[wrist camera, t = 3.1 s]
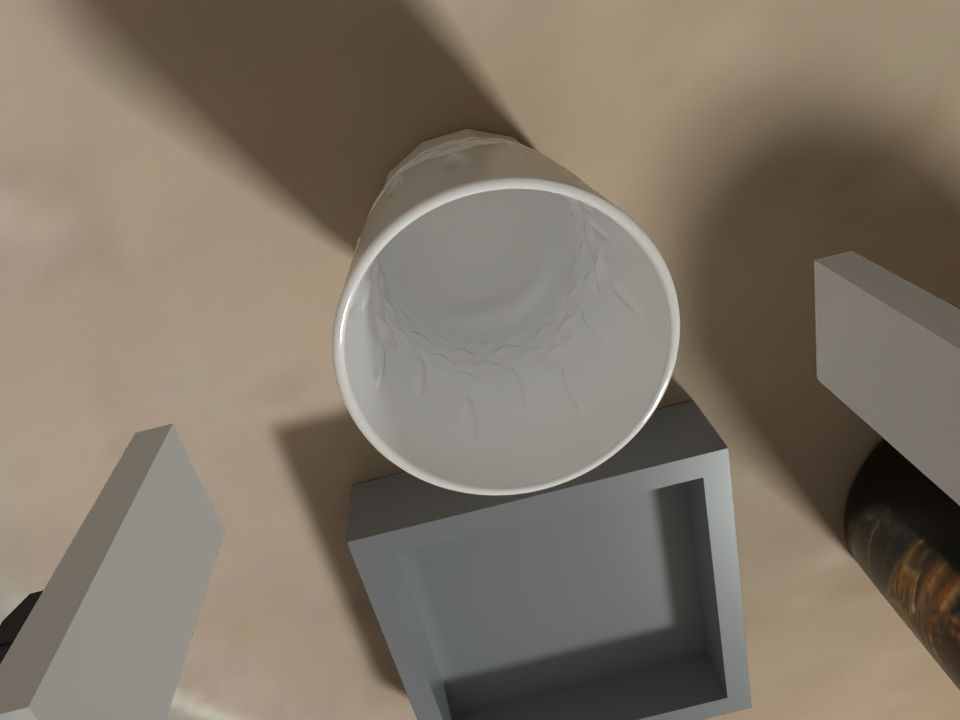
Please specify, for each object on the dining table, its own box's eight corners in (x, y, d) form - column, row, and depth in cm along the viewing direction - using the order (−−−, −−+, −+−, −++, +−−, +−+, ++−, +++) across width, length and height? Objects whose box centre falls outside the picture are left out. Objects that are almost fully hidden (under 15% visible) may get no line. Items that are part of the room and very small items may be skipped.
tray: (352, 485, 30) (346, 542, 27) (693, 400, 30) (728, 448, 27) (438, 714, 36) (442, 782, 33) (720, 645, 36) (751, 707, 33)
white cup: (342, 317, 27) (314, 479, 18) (371, 88, 23) (354, 145, 15) (553, 346, 28) (627, 511, 19) (609, 133, 25) (728, 212, 16)
